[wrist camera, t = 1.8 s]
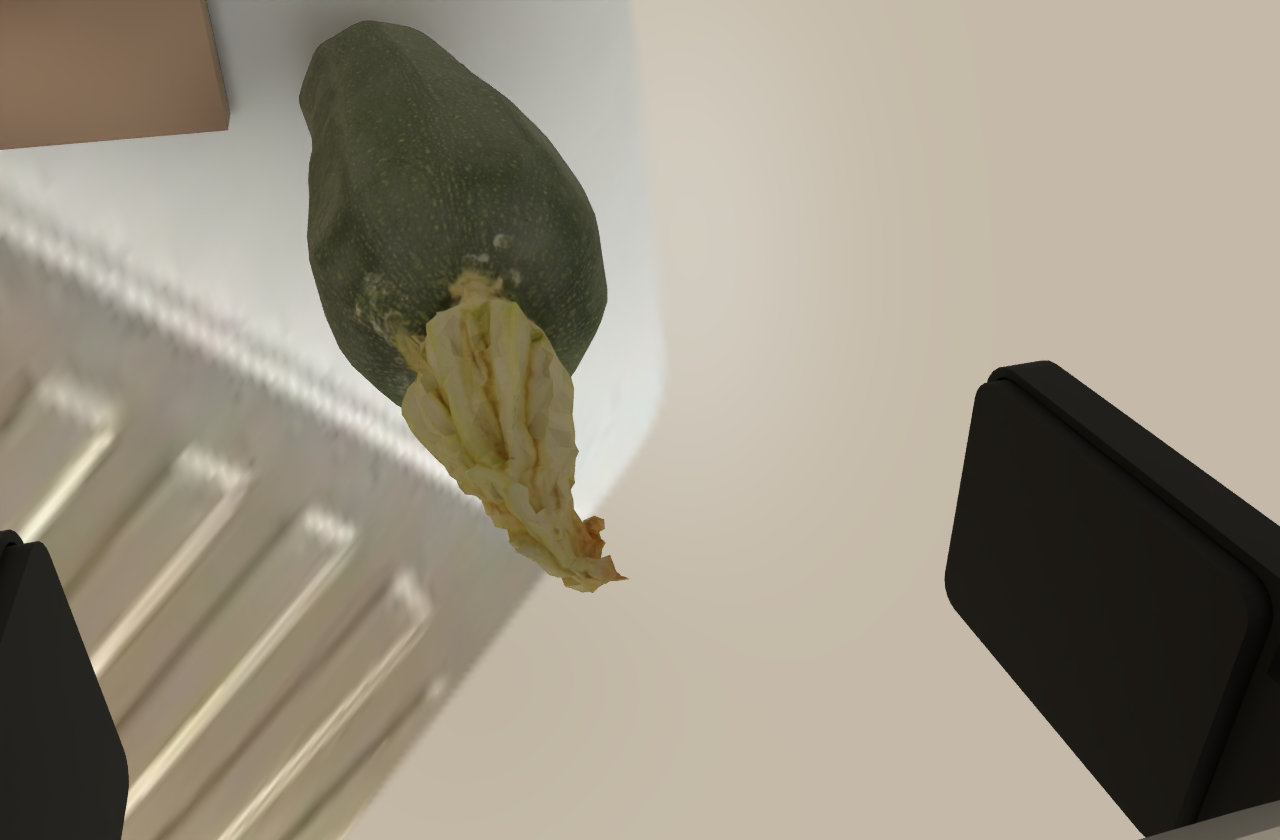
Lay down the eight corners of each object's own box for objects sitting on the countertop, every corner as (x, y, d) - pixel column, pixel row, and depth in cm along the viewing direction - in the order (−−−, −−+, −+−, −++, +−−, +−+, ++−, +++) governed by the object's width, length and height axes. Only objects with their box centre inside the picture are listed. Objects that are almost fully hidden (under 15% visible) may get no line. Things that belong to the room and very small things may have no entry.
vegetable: (271, -12, 25) (260, 379, 9) (445, -50, 26) (729, 250, 10) (329, 163, 28) (404, 719, 11) (487, 124, 28) (771, 597, 12)
